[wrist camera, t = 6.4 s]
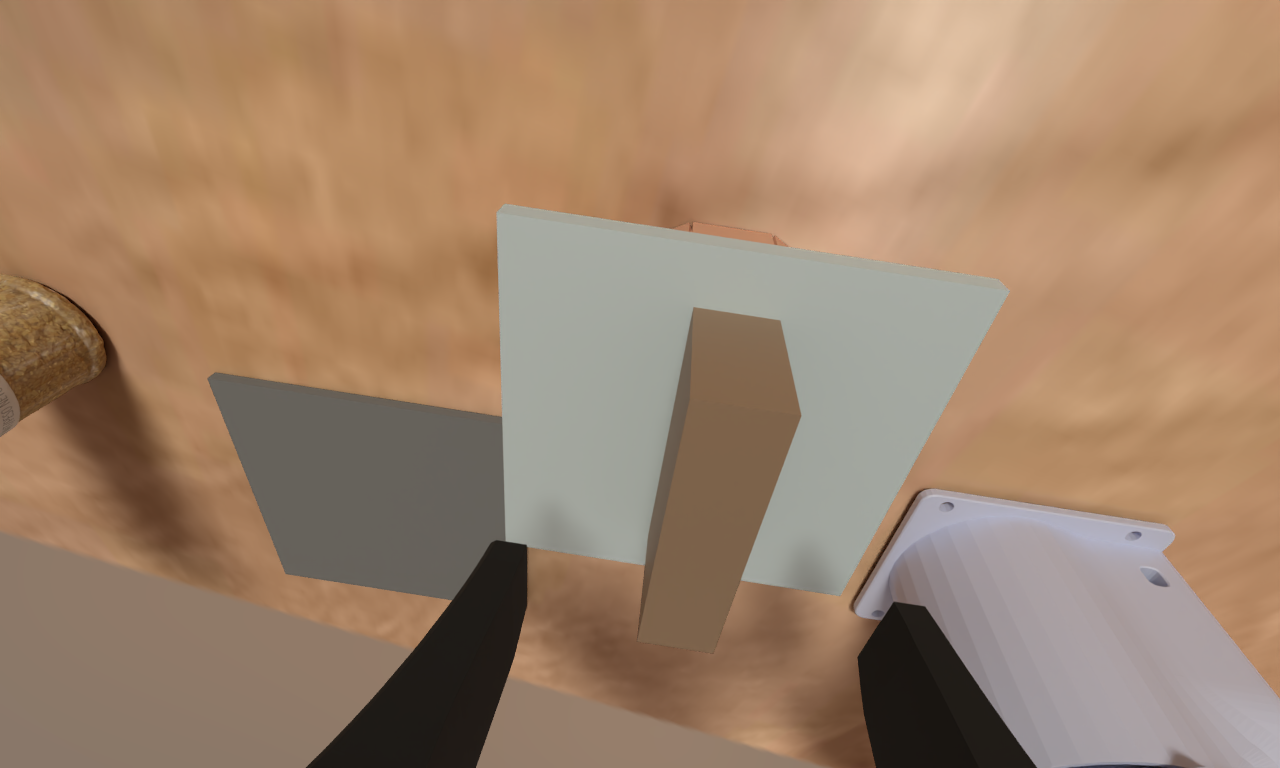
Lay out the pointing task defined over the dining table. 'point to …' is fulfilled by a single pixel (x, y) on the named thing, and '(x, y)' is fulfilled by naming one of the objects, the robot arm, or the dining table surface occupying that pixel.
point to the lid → (715, 403)
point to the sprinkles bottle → (41, 348)
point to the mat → (368, 483)
